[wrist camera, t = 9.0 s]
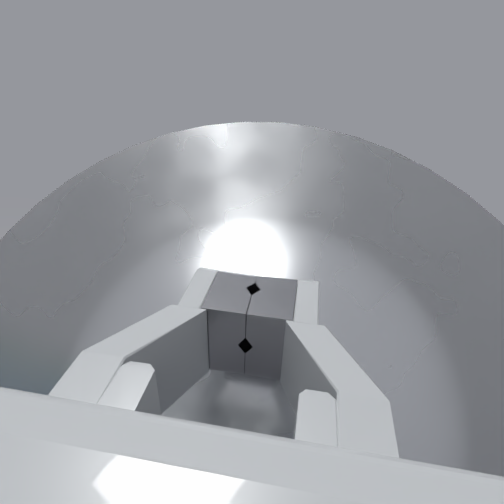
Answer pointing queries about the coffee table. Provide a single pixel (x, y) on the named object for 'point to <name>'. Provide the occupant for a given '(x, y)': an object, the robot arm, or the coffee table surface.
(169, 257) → the lid
